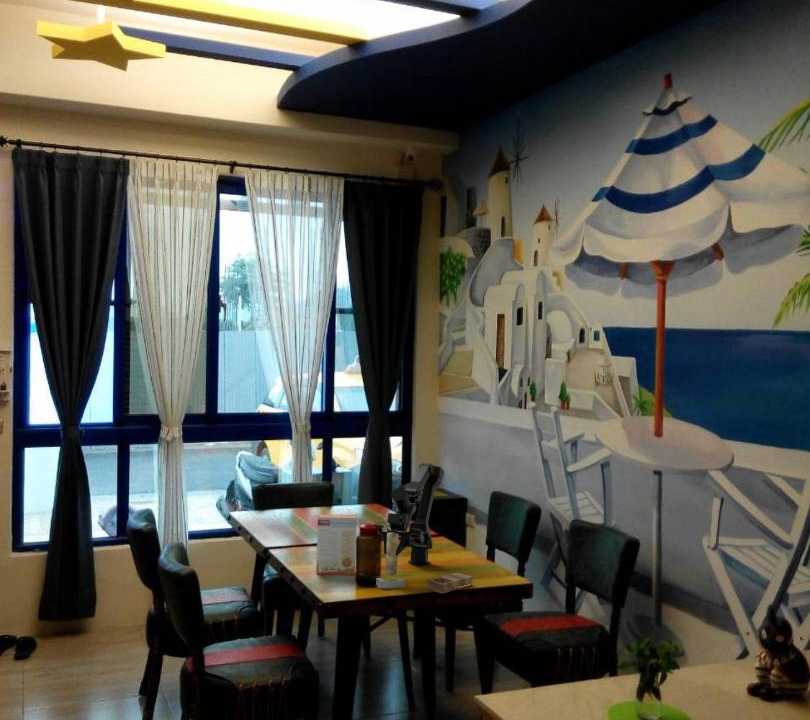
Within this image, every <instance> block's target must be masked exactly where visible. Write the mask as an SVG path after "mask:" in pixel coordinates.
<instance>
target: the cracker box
mask: <svg viewBox="0 0 810 720" xmlns="http://www.w3.org/2000/svg"><path fill="white" fill-rule="evenodd" d="M357 517H358V515H357V514H332V513H331V514H330V513H329V514H324V513H323V514H321V513H320V514H318V517H317V537H316V539H317V540H316V566H315V567H316V568H315V569H316V572H315V573H316V574H315V575H345V576H354V575H355V574H356V560H357V559H356V552H357V551H356V548H357V520H358V519H357Z"/></svg>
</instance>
